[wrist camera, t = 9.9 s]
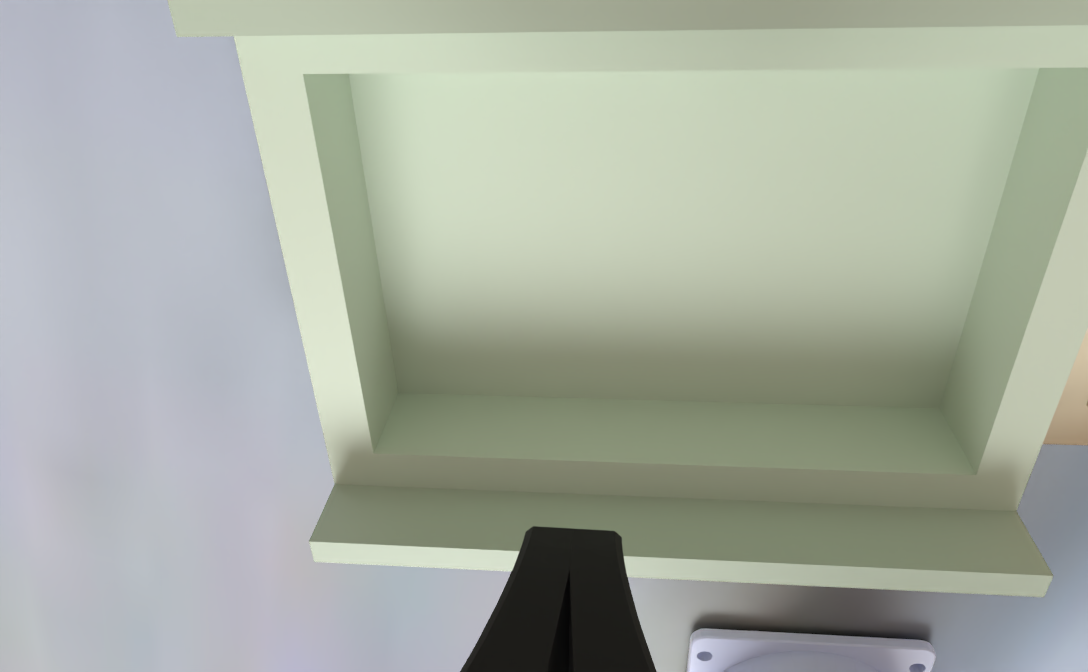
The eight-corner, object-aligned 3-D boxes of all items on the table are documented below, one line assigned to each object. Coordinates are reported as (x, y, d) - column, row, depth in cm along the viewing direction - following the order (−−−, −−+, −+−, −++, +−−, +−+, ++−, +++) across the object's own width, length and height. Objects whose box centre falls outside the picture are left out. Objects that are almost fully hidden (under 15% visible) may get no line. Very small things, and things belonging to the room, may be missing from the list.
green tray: (962, 448, 22) (1043, 597, 18) (371, 428, 24) (314, 561, 20) (1128, -69, 16) (1327, -31, 11) (283, -50, 17) (164, -10, 13)
